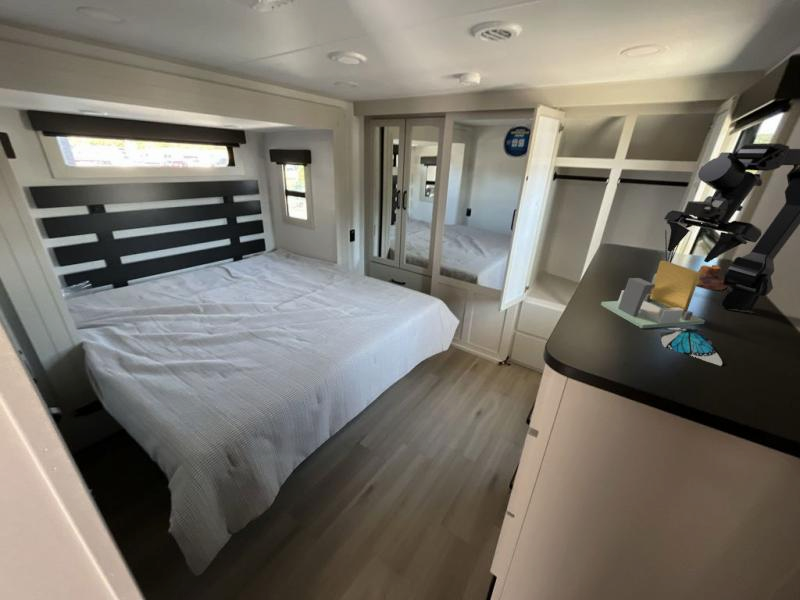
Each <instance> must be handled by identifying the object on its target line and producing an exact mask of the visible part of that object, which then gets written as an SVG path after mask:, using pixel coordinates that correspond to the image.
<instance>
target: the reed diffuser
mask: <svg viewBox="0 0 800 600" xmlns="http://www.w3.org/2000/svg"><path fill="white" fill-rule="evenodd" d="M664 232H665V233H664V234H665V237H664V239H665V242H664V243H665V261H667V262H670V263H672V261H673V258H674V256H675V254H676V251H677V250H678V247H679V245H680V243H679V244H678V245H677V246H676V247H675V248H674V249H673V250H672V251H671V252H669V254H667V249H668V245H667V244H668V243H667V241H668V240H667V229H665V231H664ZM667 255H668V256H667ZM656 274H657V272H656V273H655V274H654V275H653V277H652V281H651V283H652V284H654V281H655V278H656Z"/></svg>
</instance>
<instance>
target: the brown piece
mask: <svg viewBox="0 0 800 600" xmlns="http://www.w3.org/2000/svg"><path fill="white" fill-rule="evenodd" d="M721 270H722V268H721V267H720V266H718V265H714V264H713V265H711V266H709V265H706V264H705V265H701V266H700V268H699V270H698V271H697V272H700V276H699V279H698V282H697V285H696V288H702V289H705V290H709V289H713V290H712V291H719V290H720V291H723V290H722V289H725V288H728V286H727V285H723V283H724V278H725V277H723V276H721V275H719V274H720V272H721ZM725 290H726V289H725Z"/></svg>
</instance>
